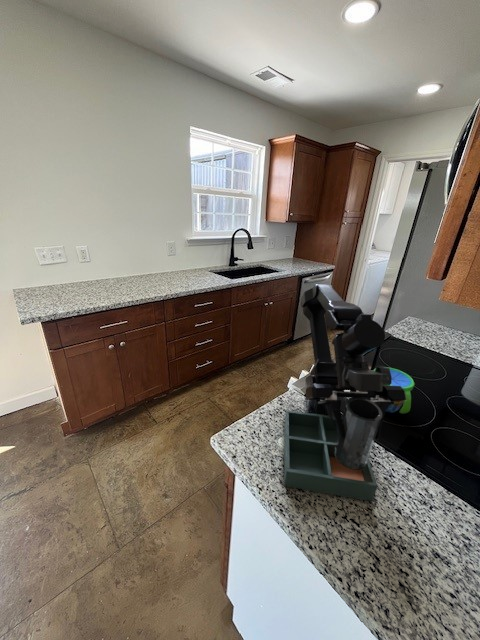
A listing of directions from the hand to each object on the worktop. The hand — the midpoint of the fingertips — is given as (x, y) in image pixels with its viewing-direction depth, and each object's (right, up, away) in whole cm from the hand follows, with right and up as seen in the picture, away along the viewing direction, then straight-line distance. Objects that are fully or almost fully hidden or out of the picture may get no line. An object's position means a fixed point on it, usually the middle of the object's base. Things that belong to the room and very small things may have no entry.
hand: (359, 438), depth 52 cm
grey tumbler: (0, -5, +4) cm, 7 cm away
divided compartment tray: (-4, -9, +11) cm, 15 cm away
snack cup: (+20, -2, +28) cm, 35 cm away
